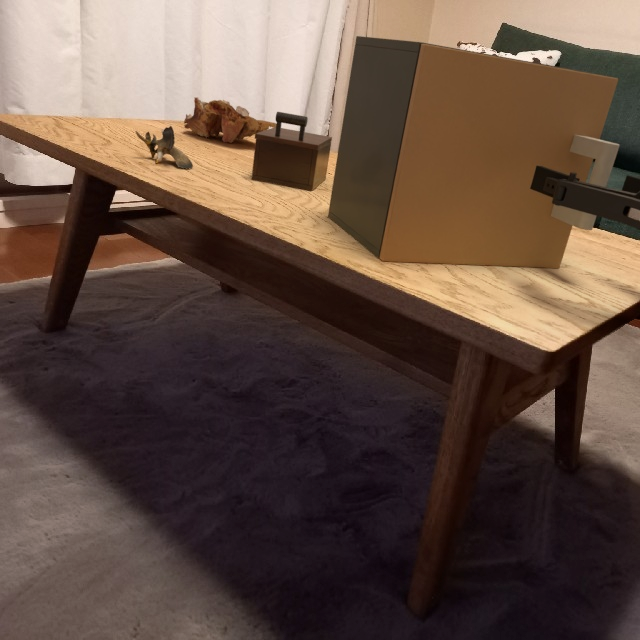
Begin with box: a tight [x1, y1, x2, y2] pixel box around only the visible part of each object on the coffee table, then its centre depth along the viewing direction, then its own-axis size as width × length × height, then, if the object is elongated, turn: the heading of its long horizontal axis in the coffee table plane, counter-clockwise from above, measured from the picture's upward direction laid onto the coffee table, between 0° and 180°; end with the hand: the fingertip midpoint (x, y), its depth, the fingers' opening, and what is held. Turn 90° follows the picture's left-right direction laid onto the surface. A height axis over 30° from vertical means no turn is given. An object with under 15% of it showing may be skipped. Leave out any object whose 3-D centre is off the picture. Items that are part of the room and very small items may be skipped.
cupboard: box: [327, 35, 612, 259], centre depth 84 cm, size 18×26×24 cm
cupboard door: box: [379, 44, 621, 269], centre depth 73 cm, size 7×26×24 cm, turn 109°
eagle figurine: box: [135, 125, 194, 169], centre depth 109 cm, size 8×7×9 cm
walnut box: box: [251, 139, 332, 192], centre depth 112 cm, size 13×11×7 cm
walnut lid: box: [254, 111, 333, 150], centre depth 109 cm, size 13×11×5 cm
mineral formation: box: [183, 97, 277, 144], centre depth 140 cm, size 23×16×10 cm
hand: (581, 181), depth 76 cm, fingers open, 13 cm apart
